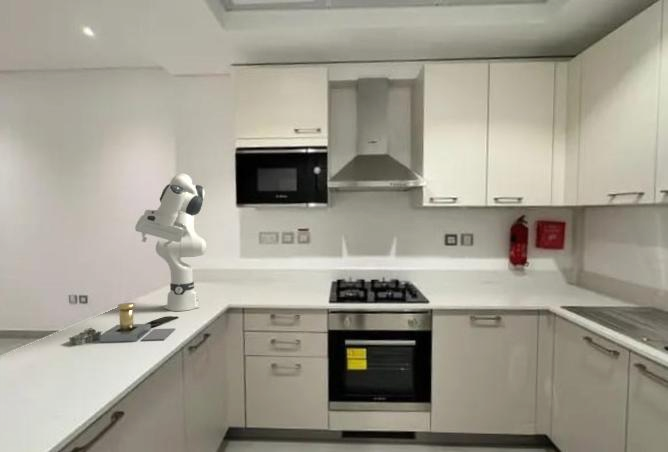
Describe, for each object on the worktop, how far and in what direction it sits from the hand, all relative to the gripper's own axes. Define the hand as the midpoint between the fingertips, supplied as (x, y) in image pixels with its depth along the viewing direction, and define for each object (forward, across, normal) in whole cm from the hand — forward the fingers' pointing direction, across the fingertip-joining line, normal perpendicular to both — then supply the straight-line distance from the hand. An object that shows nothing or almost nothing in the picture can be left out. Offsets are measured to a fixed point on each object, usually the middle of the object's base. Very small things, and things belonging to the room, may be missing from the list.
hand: (154, 244), depth 172 cm
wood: (+33, -13, +15) cm, 38 cm away
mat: (+25, -11, +32) cm, 42 cm away
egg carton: (+36, +14, +28) cm, 48 cm away
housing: (+31, 0, +28) cm, 42 cm away
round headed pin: (+31, 0, +28) cm, 42 cm away
